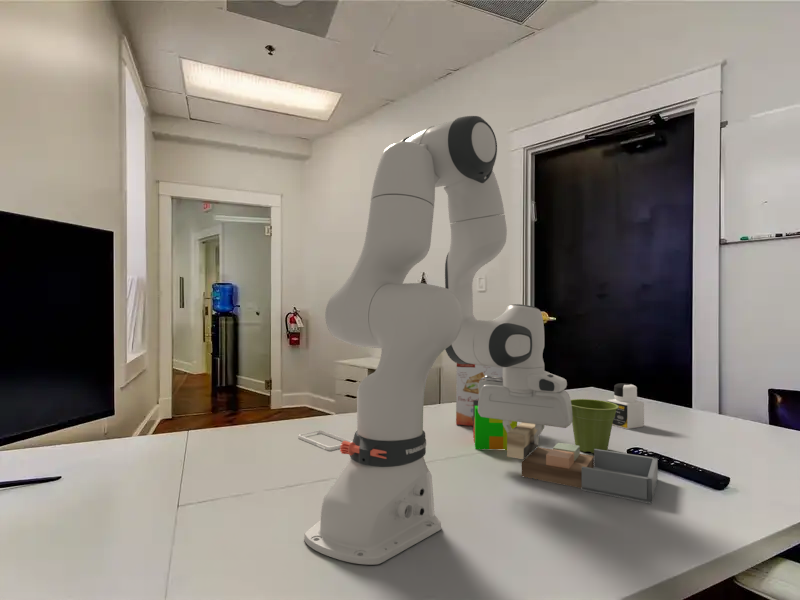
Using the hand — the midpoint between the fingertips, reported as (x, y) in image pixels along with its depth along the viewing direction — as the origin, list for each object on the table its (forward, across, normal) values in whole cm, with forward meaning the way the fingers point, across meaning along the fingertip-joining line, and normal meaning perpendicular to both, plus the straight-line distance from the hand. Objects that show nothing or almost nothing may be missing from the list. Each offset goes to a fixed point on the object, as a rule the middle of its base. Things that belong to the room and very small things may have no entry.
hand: (523, 442), depth 106 cm
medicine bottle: (+6, +15, +51) cm, 53 cm away
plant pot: (+6, +10, +21) cm, 24 cm away
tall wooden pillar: (+2, 0, 0) cm, 2 cm away
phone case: (+6, -50, -8) cm, 50 cm away
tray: (+5, +20, 0) cm, 20 cm away
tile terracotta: (+2, +8, -3) cm, 9 cm away
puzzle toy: (+6, -12, +13) cm, 18 cm away
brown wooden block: (+5, +8, 0) cm, 9 cm away
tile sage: (+2, +8, +3) cm, 9 cm away
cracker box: (+6, -21, +29) cm, 36 cm away
